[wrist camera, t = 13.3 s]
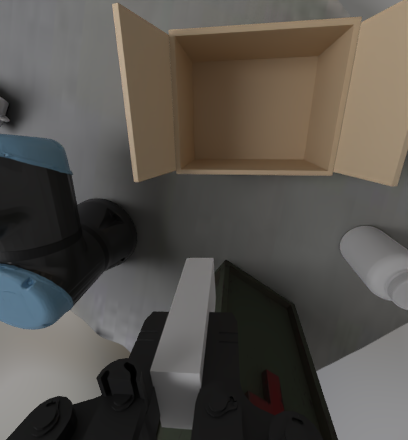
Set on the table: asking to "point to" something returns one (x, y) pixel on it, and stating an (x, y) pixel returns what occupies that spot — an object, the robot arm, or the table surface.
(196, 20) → the table surface
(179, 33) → the carton
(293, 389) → the first aid box
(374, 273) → the pill bottle
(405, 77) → the flap
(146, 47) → the flap
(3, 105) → the stamp
